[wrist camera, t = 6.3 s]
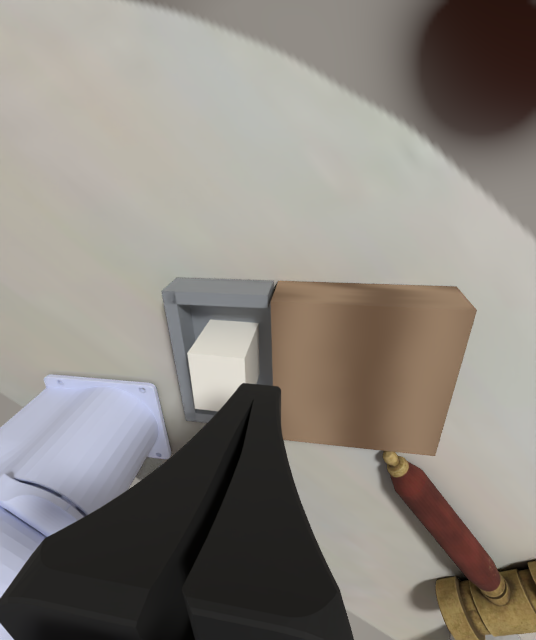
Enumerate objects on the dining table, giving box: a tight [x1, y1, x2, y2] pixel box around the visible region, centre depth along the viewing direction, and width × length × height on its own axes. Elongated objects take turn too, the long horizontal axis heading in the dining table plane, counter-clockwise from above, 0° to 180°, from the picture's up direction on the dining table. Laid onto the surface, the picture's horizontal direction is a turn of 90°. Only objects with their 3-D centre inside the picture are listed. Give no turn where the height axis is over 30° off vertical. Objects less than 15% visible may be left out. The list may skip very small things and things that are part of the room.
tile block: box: [187, 319, 260, 411], centre depth 21 cm, size 4×4×3 cm
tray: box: [162, 278, 274, 423], centre depth 22 cm, size 6×10×2 cm, turn 1°
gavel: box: [383, 451, 536, 640], centre depth 27 cm, size 21×5×10 cm
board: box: [271, 281, 477, 456], centre depth 21 cm, size 10×10×3 cm
